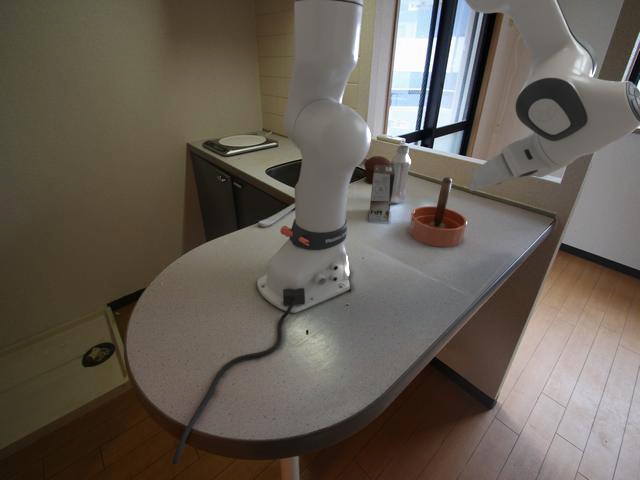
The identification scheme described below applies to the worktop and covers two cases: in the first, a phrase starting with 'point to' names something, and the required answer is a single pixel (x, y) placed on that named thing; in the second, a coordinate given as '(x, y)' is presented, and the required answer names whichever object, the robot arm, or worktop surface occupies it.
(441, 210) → the stirring stick
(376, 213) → the coffee box
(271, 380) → the worktop surface
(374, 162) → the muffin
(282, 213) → the spoon
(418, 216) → the bowl
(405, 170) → the plastic bottle
